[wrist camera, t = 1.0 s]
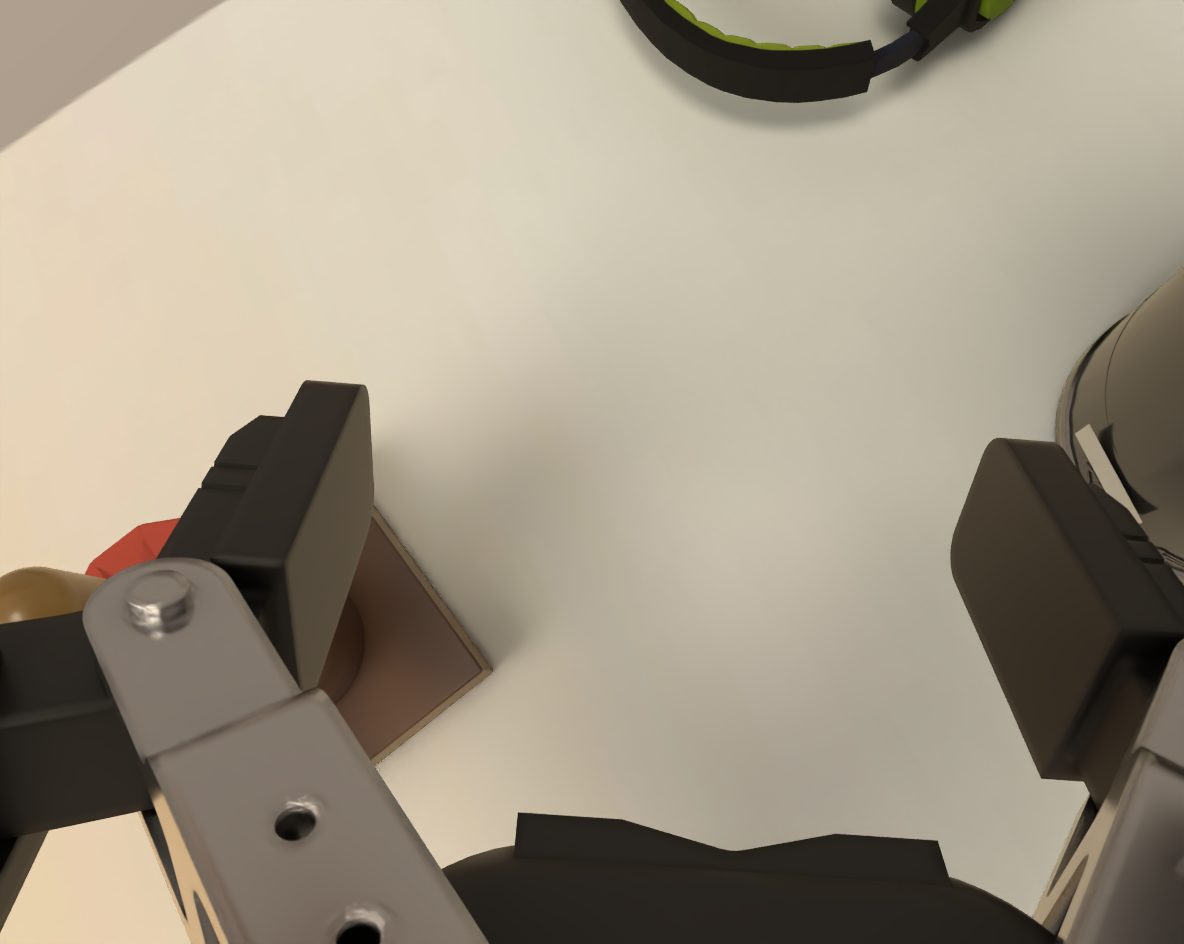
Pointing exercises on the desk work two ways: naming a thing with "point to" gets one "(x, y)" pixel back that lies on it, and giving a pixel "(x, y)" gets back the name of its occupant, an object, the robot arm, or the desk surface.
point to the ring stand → (339, 640)
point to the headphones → (800, 50)
